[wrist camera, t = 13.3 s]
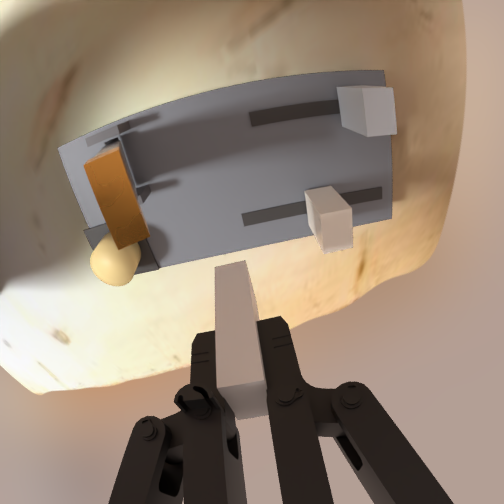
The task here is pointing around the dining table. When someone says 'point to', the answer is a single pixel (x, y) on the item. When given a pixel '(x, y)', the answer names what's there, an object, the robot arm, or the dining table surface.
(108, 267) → the button
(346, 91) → the grey slider
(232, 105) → the panel
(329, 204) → the cream slider
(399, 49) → the dining table surface
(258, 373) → the robot arm
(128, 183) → the lever
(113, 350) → the dining table surface
